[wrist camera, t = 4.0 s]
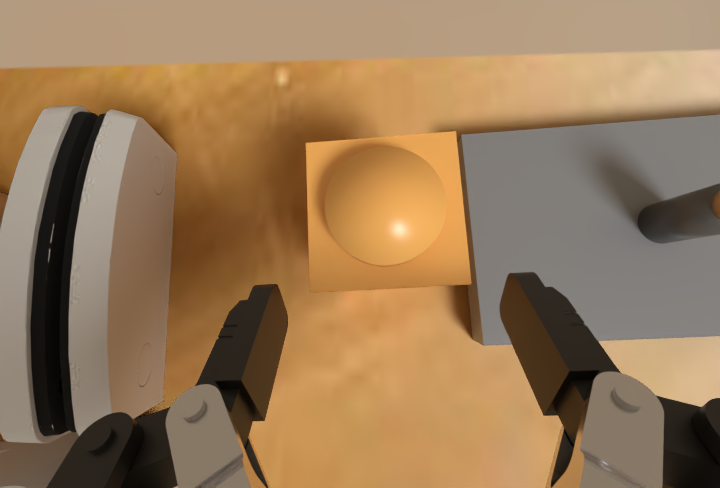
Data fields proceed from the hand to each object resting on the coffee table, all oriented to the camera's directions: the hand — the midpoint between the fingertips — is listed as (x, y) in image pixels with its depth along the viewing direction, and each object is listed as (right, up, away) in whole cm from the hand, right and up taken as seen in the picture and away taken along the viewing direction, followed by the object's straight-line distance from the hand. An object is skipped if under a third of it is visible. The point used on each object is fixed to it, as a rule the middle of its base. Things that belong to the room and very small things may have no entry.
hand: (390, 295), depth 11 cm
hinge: (-15, 0, +10) cm, 18 cm away
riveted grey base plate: (+15, +3, +8) cm, 17 cm away
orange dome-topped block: (0, +2, +9) cm, 9 cm away
